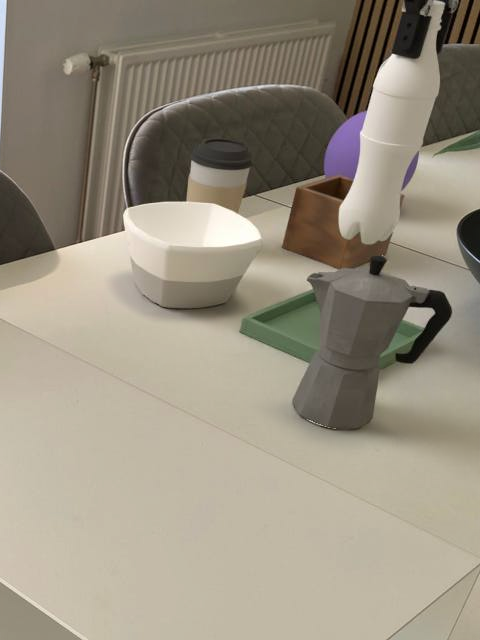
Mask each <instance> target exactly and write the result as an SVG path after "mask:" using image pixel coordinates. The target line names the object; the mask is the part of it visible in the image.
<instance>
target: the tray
mask: <svg viewBox="0 0 480 640" xmlns="http://www.w3.org/2000/svg"><path fill="white" fill-rule="evenodd" d="M320 317H321V313H320V310H319V306H318V303H317V300H316V296H315V293H314V291H313V288H311V289H308V290H307V291H304V292H301V293H299V294H296V295H295V296H292V297H289V298H287V299H284V300H282V301H279V302H276V303H274V304H271V305H270V306H267V307H265V308H262V309H260V310H257V311H255V312H253V313H250V314H248V315H244V316H243V317H242V320H241V324H240V328H239V333H241V334H243V335H246V336H248V337H249V338H253V339H255V340H257V341H259V342H261V343H264V344H266V345H268V346H271V347H273V348H275V349H277V350H280V351H282V352H284V353H286V354H289V355H291V356H294V357H296V358H298V359H300V360H302V361H305V362H307V363H309V364H310V362H311V360H312V358H313V355H314V354H315V353H316V352H317V351H318V349H319V346H320V343H321V340H320V337H319V335H318V333H319V325H320ZM424 328H425V327H422V326H420V325H417V324H415V323H413V322H410V321H407V320H405V319H403V320H402V322H401V324H400V326H399V328H398V329H397V331H396V333H395V335H394V337H393V339H392V341H391V343H390V345H389V347H388V349H387V350H385V351H384V352H383V353H381V356H380V359H379V362H378V363H379V366H380V370H383V369H384V368H386V367H388V366H390V365H392V364H394V363H396V362H397V361H396V357H395V354H396V353H399V354H406V353H408V352H409V351H410V350H411V348H412V345H413V343H414V341H415V339H416V338H417V337H418V336H419V335H420V334H421V333H422V332H423V330H424Z"/></svg>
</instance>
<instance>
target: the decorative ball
mask: <svg viewBox="0 0 480 640" xmlns="http://www.w3.org/2000/svg"><path fill="white" fill-rule="evenodd" d="M366 114H367V110H364V111H361V112H359V113H357V114H355V115H353V116H351V117H349V118H348V119H347V120H346V121H344V122H343V124H341V125H340V126H339V127H338V128H337V130H336V131H335V132H334V134H333V136H332V137H331V139H330V140H329V143H328V146H327V148H326V151H325V155H324V160H323V171H324V176H325V178H328V177H331V176H334V175H338V174H340V175H343V176H346V177H349V178H352V179H354V178H355V175H356V172H357V168H358V163H359V156H360V132H361V131H362V128H363V124H364V121H365V117H366ZM419 157H420V150H419V151H418V152H417V153H416V155H415V156H414V158H413V159H412V161H411V163H410V165H409V167H408V169H407V171H406V174H405V177H404V181H403V185H402V189H401V192H403V191H404V190H405V188H406V187H407V186H408V185H409V184H410V182H411V180H412V179H413V176H414V174H415V172H416V169H417V167H418V163H419ZM325 178H324V179H325Z"/></svg>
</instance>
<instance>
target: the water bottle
mask: <svg viewBox="0 0 480 640" xmlns="http://www.w3.org/2000/svg"><path fill="white" fill-rule="evenodd" d="M444 6H445V3H444V2H441V1H437V0H434V1H433V4H432V7H431V10H430V12H429V14H428V15H427V16H431V17H432V18H431V21H430V25H429V28H428V31H427V35H426V38H425V42H424V45H423V48H422V52H421V55H420V57H419V58H417V59H412V58H407V57H403V56H399V55H395V54H393V53H392V54H391V55H390V56H389V58H388V59H387V60H386V61H385V63H384V64H383V66H382V67H381V68H380V70H379V72H378V73H377V76H376V77H375V79H374V82H373V85H372V92H371V96H370V99H369V103H368V107H367V110H366V111H367V114H366V117H365V121H364V124H363V128H362V131H361V132H360V156H359V163H358V168H357V172H356V175H355V178H354V181H353V184H352V186H351V188H350V191H349V193H348V195H347V196H346V198H345V200H344V201H343V203H342V204H341V205H340V208H339V229H340V233H341V235H342V237H344V238H345V239H348V240H350V239H352V238H353V237H354V236H355V235H356V234H357V233H358V232H360V235H361V242H362V243H363V244H374V243H375V242H377V241H378V240H379V241H385V240H386V239H387V238H388V237H389V236H390V235H391V233H392V232H393V233H394V230H396V229H395V228H396V227H397V225H398V223H399V219H400V216H401V208H400V196H401V194H402V191H401V189H402V185H403V181H404V177H405V174H406V171H407V169H408V167H409V165H410V163H411V161H412V159H413V158H414V156H415V155H416V153H417V152H418V151H419V152H420V149H421V148H422V147H423V145H424V137H425V134H426V130H427V128H428V123H429V120H430V118H431V115H432V111H433V108H434V105H435V102H436V99H437V98H438V95H439V92H440V86H441V74H440V64H439V59H438V54H437V52H436V37H437V32H438V30H440V29H441V25H440V22H442V20H441V16H442V14H443V10H444Z"/></svg>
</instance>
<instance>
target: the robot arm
mask: <svg viewBox="0 0 480 640" xmlns="http://www.w3.org/2000/svg"><path fill="white" fill-rule="evenodd" d="M433 1H434V0H403V1H402V5H401V16H400V20H399V24H398V27H397V30H396V34H395V38H394V41H393V45H392V49H391V53H392V54H395V55H399V56H403V57H407V58H412V59H417V58H419V57H420V55H421V52H422V48H423V45H424V42H425V38H426V35H427V31H428V28H429V25H430V21H431V18H432V17H431V16H427V15H428V14H429V12H430V10H431V7H432V4H433ZM437 1H441V2H444V3H445V6H444V10H443V14H442V16H441V20H442V22H440V25H441V29H440V30H438V32H437V37H436V52H437V55H440V54H441V52H442V51H443V47H444V44H445V41H446V38H447V35H448V31H449V28H450V24H451V21H452V18H453V15H454V12H455V11H456V10H457V8H458V5H459V0H437Z"/></svg>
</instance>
